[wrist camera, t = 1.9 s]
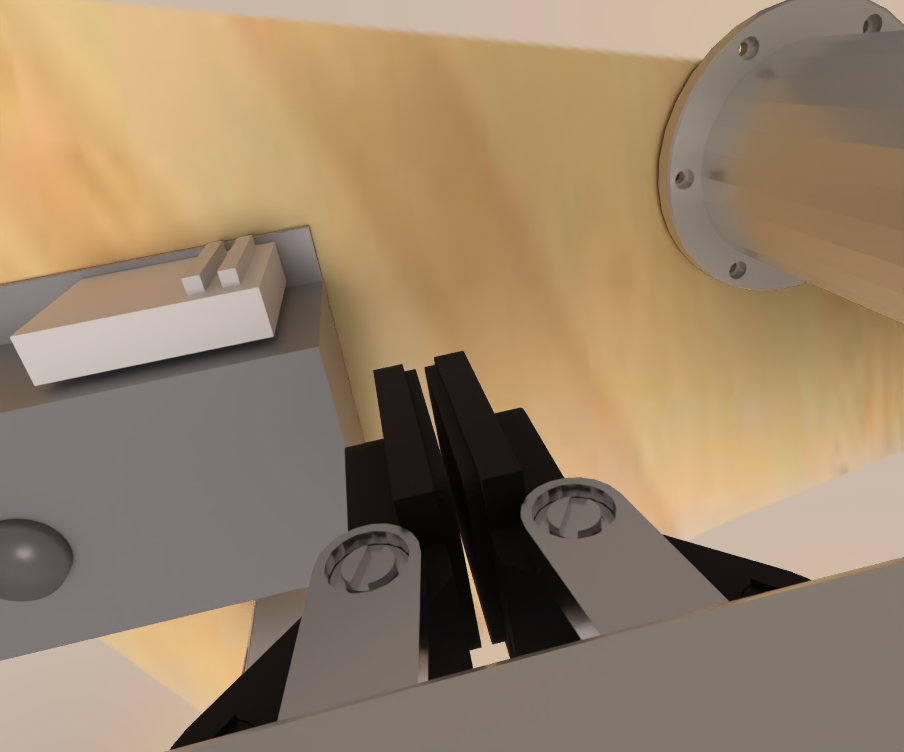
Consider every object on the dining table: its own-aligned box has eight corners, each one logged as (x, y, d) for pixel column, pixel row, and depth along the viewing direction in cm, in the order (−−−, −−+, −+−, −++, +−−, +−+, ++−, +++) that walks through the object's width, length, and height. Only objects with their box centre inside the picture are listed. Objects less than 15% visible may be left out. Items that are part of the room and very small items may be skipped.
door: (270, 227, 26) (253, 269, 21) (286, 281, 28) (274, 336, 22) (75, 265, 26) (0, 319, 20) (99, 319, 27) (34, 386, 21)
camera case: (308, 225, 27) (298, 283, 19) (369, 461, 33) (380, 579, 25) (-55, 295, 26) (-218, 387, 18) (73, 528, 31) (-11, 674, 24)
